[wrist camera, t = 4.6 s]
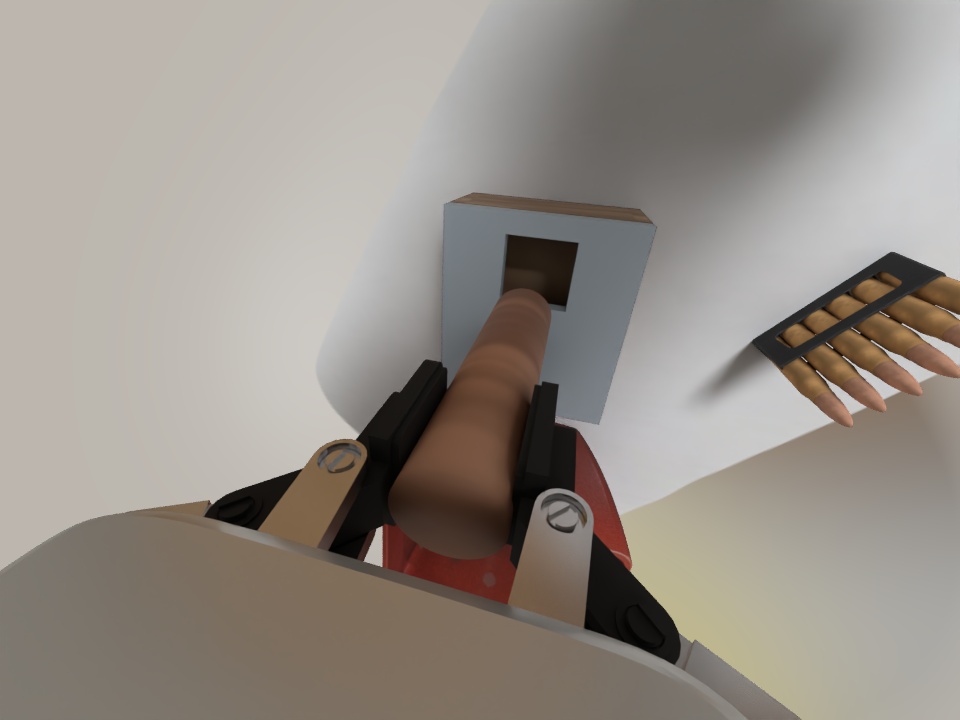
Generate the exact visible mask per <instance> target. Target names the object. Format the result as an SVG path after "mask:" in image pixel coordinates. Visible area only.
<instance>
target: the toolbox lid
mask: <svg viewBox="0 0 960 720" xmlns="http://www.w3.org/2000/svg"><path fill="white" fill-rule="evenodd" d="M656 228H657V227H656V226H655V225H654V224H651V223H641V222H632V221H622V220H613V219H604V218H594V217H585V216H576V215H566V214H557V213H547V212H538V211H529V210H519V209H510V208H500V207H491V206H482V205H472V204H463V203H454V202H448V203H445V204H444V231H443V293H442V354H441V362H442V364H443V367H446V368H447V371H448V373H447V389H448V387H449V386H450V384H451V382H452V380H453V379H454V377H455V375H456V373H457V372H458V370H459V368H460V366H461V365H462V363H463V361H464V359H465V358H466V356H467V354H468V352H469V351H470V349H471V347H472V345H473V343H474V342H475V340H476V338H477V336H478V335H479V333H480V331H481V329H482V328H483V326H484V324H485V322H486V321H487V319H488V317H489V315H490V314H491V312H492V310H493V308H494V307H495V305H496V303H497V301H498V300H499V299H500V297H501V296H502V291H503V282H504V272H505V262H506V252H507V242H508V234H509V235H518V236H526V237H535V238H543V239H551V240H560V241H568V242H577V243H578V249H577V254H576V259H575V264H574V269H573V274H572V279H571V284H570V289H569V295H568V300H567V305H566V306H560V305H554V304H549V306H550V309H551V324H550V329H549V334H548V339H547V344H546V349H545V354H544V360H543V365H542V370H541V375H540V380H539V385H542V381H545V382H550V383H555V384H559V389H558V397H557V406H556V415H555V416H558V417H563V418H568V419H573V420H578V421H583V422H588V423H593V424H598V425H599V423H600V419H601V416H602V412H603V409H604V406H605V402H606V399H607V395H608V392H609V389H610V385H611V382H612V378H613V375H614V372H615V368H616V365H617V361H618V358H619V355H620V351H621V348H622V344H623V341H624V337H625V334H626V331H627V327H628V324H629V320H630V317H631V314H632V310H633V307H634V303H635V300H636V297H637V293H638V290H639V286H640V283H641V279H642V276H643V273H644V269H645V266H646V262H647V259H648V256H649V252H650V249H651V245H652V242H653V239H654V235H655V232H656Z"/></svg>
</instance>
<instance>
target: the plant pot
mask: <svg viewBox="0 0 960 720" xmlns="http://www.w3.org/2000/svg"><path fill="white" fill-rule="evenodd" d="M555 424H556V425H561V424H558V423H555ZM561 426H565V425H561ZM566 427H568V426H566ZM570 428H572V427H570ZM575 493H576V494H577V495H579V496H580V497H581V498H583V499H584V500H585V501H586V503H587V504H588V505H589V506H590V508H591V511H592V513H593V519H594V525H593V532H594V533H595V534H596V535H597V536H598V537H599V539H600V540H601V541H602V542H603V543H604V544H605V545H606V546H607V547H608V548H609V549H610V551H611V552H612V553H613V554H614V555H615V556H616V557H617V558H618V559H619V560H620V561H621V562H622V564H623V565H624V566H625V567H626V568H627V569H628V570H629V571H630V570H631V568H632V561H631V557H630V552H629V549H628V545H627V541H626V537H625V534H624V531H623V527H622V524H621V521H620V518H619V515H618V512H617V509H616V506H615V503H614V500H613V497H612V495H611V492H610V489H609V487H608V485H607V482H606V480H605V478H604V475H603V473H602V471H601V469H600V467H599V465H598V463H597V461H596V459H595V457H594V455H593V453H592V451H591V450H590V448H589V446H588V445H587V443H586V441H585V440H584V438H583V437H582V435H581V434H580V432H579V431H578V430H577V440H576V472H575ZM511 549H512V546H510V545H507V544H505V545H504V547H503V548H502V549H501V550H500V551H498V552H497V553H495V554H493V555H491V556H489V557H485V558H481V559H471V560H466V559H456V558H451V557H447V556H443V555H440V554H437V553H435V552H432V551H430V550H428V549H426V548H424V547H422V546H421V545H419V544H417V543H416V542H415V541H413V540H412V539H411V538H409V537H408V536H407V535H406V534H405V533H404V532H403V531H402V530H401V529H400V528H399V527H398V525H397V524H396V525H395V527H394V526H391V525H387V524H384V526H383V568H387V569H390V570H394V571H397V572H400V573H404V574H407V575H410V576H414V577H417V578H421V579H424V580H427V581H431V582H434V583H437V584H441V585H444V586H447V587H451V588H454V589H457V590H461V591H464V592H467V593H471V594H474V595H477V596H481V597H484V598H487V599H491V600H494V601H497V602H501V603H504V604H507V605H508V601H509V597H510V594H511V590H512V586H513V582H514V579H515V575H516V571H517V570H516V569H515V567H514V566H513V564H512V563H511V561H510V555H511Z"/></svg>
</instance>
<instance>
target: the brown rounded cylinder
mask: <svg viewBox="0 0 960 720" xmlns="http://www.w3.org/2000/svg"><path fill="white" fill-rule="evenodd" d="M550 324H551V309H550V306H549V304H548V303H547V301H546V300H545V299H544V298H543V297H542V296H541V295H540V294H538V293H537V292H535V291H533V290H530V289H523V288H520V289H513V290H510V291H508V292H506V293H505V294H504V295H502V296H501V297H500V299H499V300H498V301H497V303H496V305H495V307H494V308H493V310H492V312H491V314H490V315H489V317H488V319H487V321H486V322H485V324H484V326H483V328H482V329H481V331H480V333H479V335H478V336H477V338H476V340H475V342H474V343H473V345H472V347H471V349H470V351H469V352H468V354H467V356H466V358H465V359H464V361H463V363H462V365H461V366H460V368H459V370H458V372H457V373H456V375H455V377H454V379H453V380H452V382H451V384H450V386H449V387H448V389H447V391H446V393H445V394H444V396H443V398H442V400H441V401H440V403H439V405H438V407H437V408H436V410H435V412H434V414H433V415H432V417H431V419H430V421H429V423H428V424H427V426H426V428H425V430H424V431H423V433H422V435H421V437H420V438H419V440H418V442H417V444H416V445H415V447H414V449H413V451H412V452H411V454H410V456H409V458H408V459H407V461H406V463H405V465H404V466H403V468H402V470H401V472H400V473H399V475H398V477H397V479H396V480H395V482H394V484H393V486H392V487H391V489H390V492H389V495H388V507H389V511H390V513H391V516H392V518H393V520H394V521H395V523H396V524H397V525H398V527H399V528H400V529H401V530H402V531H403V532H404V533H405V534H406V535H407V536H408V537H409V538H411V539H412V540H413V541H415V542H416V543H417V544H419V545H421V546H422V547H424V548H426V549H428V550H430V551H432V552H435V553H437V554H440V555H443V556H447V557H451V558H456V559H466V560H471V559H481V558H485V557H489V556H491V555H493V554H495V553H497V552H498V551H500V550H501V549H502V548H503V547H504V545H505V544H506V542H507V540H508V536H509V531H510V526H511V521H512V516H513V503H512V495H513V489H514V483H515V477H516V471H517V466H518V461H519V456H520V452H521V447H522V442H523V438H524V433H525V428H526V424H527V419H528V414H529V410H530V405H531V400H532V396H533V391H534V386H535V384H537V385H539V380H540V375H541V370H542V365H543V360H544V354H545V349H546V344H547V339H548V334H549V329H550Z"/></svg>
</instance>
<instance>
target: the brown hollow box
mask: <svg viewBox="0 0 960 720" xmlns="http://www.w3.org/2000/svg"><path fill="white" fill-rule="evenodd" d="M451 202H454V203H463V204H472V205H482V206H491V207H500V208H510V209H519V210H529V211H538V212H547V213H557V214H566V215H576V216H585V217H594V218H604V219H613V220H622V221H632V222H641V223H651V224H653V222H652V221H651V220H650V219H649V218H648V217H647V216H646V215H645V214H644V213H643V212H642V211H641V210H640V209H631V208H621V207H611V206H601V205H591V204H581V203H571V202H561V201H551V200H541V199H531V198H521V197H512V196H502V195H492V194H482V193H471V194H469V195H466V196H464V197H461V198H458V199H456V200H453V201H451ZM577 249H578V243H577V242H568V241H560V240H551V239H543V238H535V237H526V236H518V235H509V234H508V242H507V252H506V262H505V272H504V282H503V291H502V295H504V294H505V293H506V292H508V291H510V290H513V289H520V288H523V289H530V290H533V291H535V292H537V293H538V294H540V295H541V296H542V297H543V298H544V299H545V300H546V301H547V303H548V304H554V305H560V306H566V305H567V300H568V295H569V289H570V284H571V279H572V274H573V269H574V264H575V259H576V254H577Z"/></svg>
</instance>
